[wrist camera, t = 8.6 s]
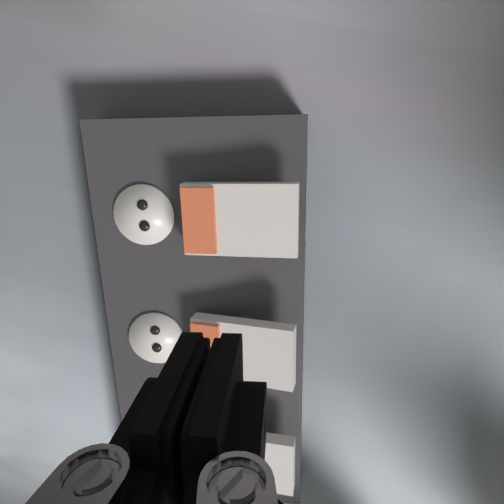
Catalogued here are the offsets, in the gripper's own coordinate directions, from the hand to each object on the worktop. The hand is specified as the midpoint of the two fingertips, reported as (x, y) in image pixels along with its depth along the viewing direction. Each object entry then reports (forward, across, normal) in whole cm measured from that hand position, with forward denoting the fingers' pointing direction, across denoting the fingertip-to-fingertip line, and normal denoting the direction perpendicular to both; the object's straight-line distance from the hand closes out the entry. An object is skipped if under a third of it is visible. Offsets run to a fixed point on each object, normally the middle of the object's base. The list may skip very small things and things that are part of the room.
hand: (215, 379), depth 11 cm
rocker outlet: (+14, +1, -2) cm, 14 cm away
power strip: (+18, +4, +12) cm, 22 cm away
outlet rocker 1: (+14, +1, +7) cm, 16 cm away
